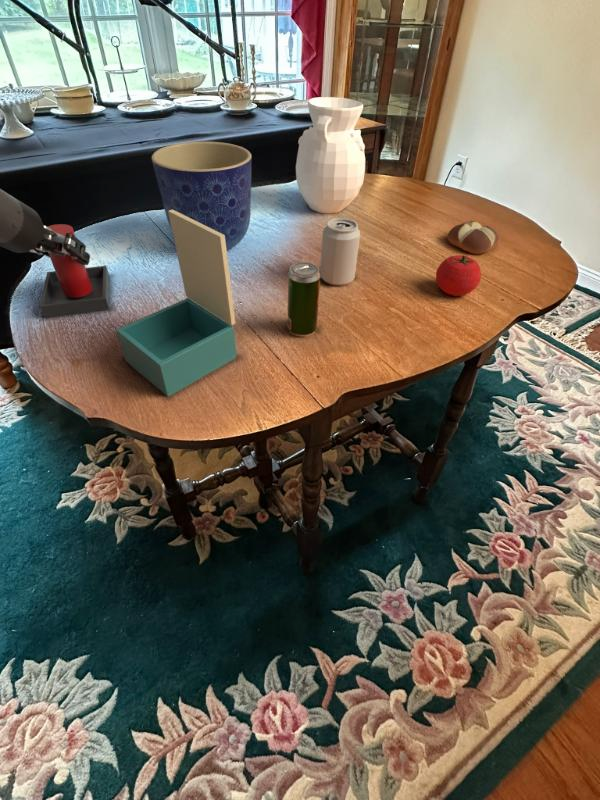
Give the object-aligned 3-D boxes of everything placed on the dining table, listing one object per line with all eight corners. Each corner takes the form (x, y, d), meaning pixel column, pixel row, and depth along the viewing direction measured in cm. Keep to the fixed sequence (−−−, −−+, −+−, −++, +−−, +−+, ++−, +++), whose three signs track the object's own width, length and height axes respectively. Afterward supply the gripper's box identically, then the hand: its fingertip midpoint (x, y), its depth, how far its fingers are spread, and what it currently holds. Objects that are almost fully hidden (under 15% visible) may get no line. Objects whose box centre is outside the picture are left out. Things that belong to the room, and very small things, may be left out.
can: (358, 274, 95) (365, 219, 86) (349, 290, 90) (356, 233, 81) (325, 268, 96) (329, 213, 88) (315, 283, 91) (318, 227, 83)
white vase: (346, 225, 113) (358, 113, 96) (283, 212, 119) (284, 103, 101) (369, 202, 126) (383, 99, 108) (311, 191, 131) (316, 91, 113)
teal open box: (167, 397, 65) (159, 365, 61) (125, 361, 71) (115, 329, 67) (236, 358, 73) (233, 326, 68) (193, 328, 78) (188, 297, 74)
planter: (174, 267, 94) (156, 173, 81) (163, 229, 108) (147, 144, 95) (265, 256, 99) (262, 166, 86) (244, 221, 113) (239, 138, 100)
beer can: (295, 341, 76) (296, 279, 68) (282, 325, 80) (282, 264, 72) (321, 334, 78) (326, 273, 70) (308, 318, 82) (311, 259, 73)
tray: (45, 318, 79) (39, 306, 77) (51, 283, 88) (47, 271, 86) (109, 310, 82) (105, 298, 80) (109, 277, 91) (106, 265, 89)
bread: (474, 258, 102) (481, 238, 98) (439, 240, 109) (444, 220, 105) (504, 248, 106) (512, 228, 103) (469, 231, 113) (475, 212, 110)
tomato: (439, 303, 87) (450, 266, 82) (426, 281, 93) (436, 245, 88) (481, 302, 88) (494, 265, 82) (466, 280, 94) (477, 245, 89)
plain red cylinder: (97, 291, 84) (78, 230, 76) (72, 301, 82) (49, 239, 73) (84, 281, 87) (63, 221, 78) (58, 290, 84) (34, 229, 76)
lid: (220, 237, 57) (224, 235, 58) (167, 210, 63) (172, 209, 64) (231, 325, 68) (235, 323, 68) (185, 296, 74) (189, 294, 74)
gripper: (46, 198, 63) (111, 243, 80) (-39, 187, 65) (42, 233, 82) (37, 248, 63) (104, 282, 80) (-48, 236, 65) (35, 272, 82)
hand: (73, 257), depth 81 cm, fingers closed on plain red cylinder, 5 cm apart
